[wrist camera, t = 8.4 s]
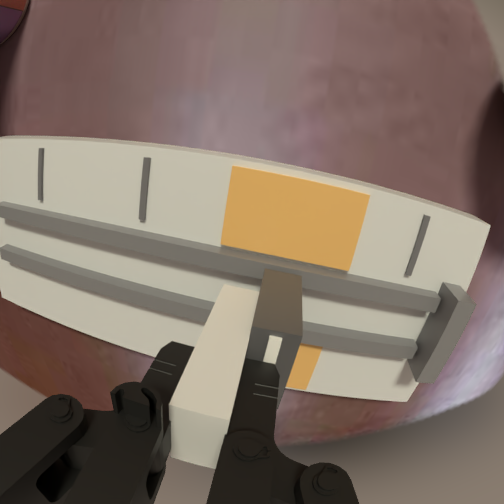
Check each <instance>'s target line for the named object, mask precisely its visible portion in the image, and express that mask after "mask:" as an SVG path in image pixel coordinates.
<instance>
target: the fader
mask: <svg viewBox="0 0 504 504" xmlns="http://www.w3.org/2000/svg"><path fill="white" fill-rule="evenodd" d="M302 337H303V316H302V276H300V275H295V274H290V273H285V272H280V271H276V270H271V269H266V268H265V270H264V275H263V279H262V284H261V288H260V292H259V297H258V301H257V305H256V310H255V314H254V318H253V323H252V327H251V332H250V336H249V342H248V347H247V351H246V356H245V358H248V359H253V360H258V361H263V362H268V363H273V364H275V366H276V368H277V370H278V373H279V375H280V379H279V388H278V398H277V399H278V400H277V409H278V407H279V404H280V401H281V398H282V396H283V393H284V390H285V387H286V384H287V382H288V379H289V376H290V373H291V370H292V367H293V364H294V361H295V358H296V355H297V352H298V349H299V346H300V343H301V340H302Z"/></svg>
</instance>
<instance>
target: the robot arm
mask: <svg viewBox="0 0 504 504" xmlns="http://www.w3.org/2000/svg"><path fill="white" fill-rule="evenodd" d="M258 297H259V291H254V290H249V289H245V288H240V287H235V286H231V285H226V284H224V285H223V287H222V289H221V291H220V293H219V296H218V298H217V300H216V302H215V304H214V306H213V309H212V311H211V313H210V315H209V317H208V319H207V322H206V324H205V326H204V328H203V330H202V332H201V335H200V337H199V339H198V341H197V343H196V346H195V347H193V346H189V345H185V344H182V343H178V342H174V341H171V342H170V343H168V344H167V345H165V346H164V347H162V348H161V349H160V351H159V352H158V354H157V356H156V358H155V360H154V361H153V363H152V364H151V366H150V369H149V370H148V371H147V373H146V375H145V376H144V378H143V380H142V382H141V383H139V382H128V383H123V384H121V385H119V386H116V387H115V388H114V389H113V390H112V391H111V392H110V393H111V399H112V404H113V408H114V410H113V411H98V410H90V409H83V407H82V405H81V403H80V402H79V401H78V400H77V399H75V398H73V397H71V396H70V395H64V394H58V395H52V396H50V397H49V398H47V399H45V400H44V401H42V402H41V403H40V404H39V405H37V406H36V407H35V408H34V409H32V410H31V411H30V412H28V413H27V414H26V415H25V416H23V417H22V418H21V419H20V420H19V421H17V422H16V423H14V424H13V425H12V426H11V427H9V428H8V429H7V430H6V431H4V432H3V433H2V434H1V435H0V504H154V501H155V498H156V495H157V493H158V490H159V488H160V485H161V482H162V480H163V477H164V474H165V469H166V460H167V457H168V455H169V452H170V457H172V458H175V459H178V460H182V461H185V462H189V463H192V464H196V465H200V466H204V467H208V468H213V469H215V473H214V477H213V481H212V485H211V488H210V492H209V496H208V500H207V504H359V502H358V499H357V496H356V493H355V490H354V487H353V484H352V482H351V479H350V477H349V476H348V474H347V472H346V471H344V470H343V469H342V468H340V467H339V466H337V465H334V464H331V463H317V464H313V465H311V466H309V467H308V466H305V465H303V464H301V463H298V462H296V461H293V460H291V459H289V458H288V457H286V456H285V455H284V454H282V453H281V452H280V451H279V449H278V448H277V446H276V444H275V441H274V429H275V419H276V409H277V400H278V399H277V398H278V388H279V379H280V375H279V373H278V370H277V368H276V366H275V364H273V363H268V362H263V361H258V360H253V359H248V358H245V356H246V351H247V347H248V342H249V336H250V332H251V327H252V323H253V318H254V314H255V310H256V305H257V301H258Z"/></svg>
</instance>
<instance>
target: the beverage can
mask: <svg viewBox="0 0 504 504" xmlns="http://www.w3.org/2000/svg"><path fill="white" fill-rule="evenodd" d="M28 4H29V0H0V44H1V43H3V42H5V41H6V40H7V39H8V38H9V37H10V36H11V35H12V34H13V33H14V31H15V30H16V29H17V27H18V26H19V24H20V23H21V21H22V19H23V17H24V15H25V13H26V10H27V7H28Z"/></svg>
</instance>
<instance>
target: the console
mask: <svg viewBox="0 0 504 504" xmlns="http://www.w3.org/2000/svg"><path fill="white" fill-rule="evenodd" d="M490 226H491V225H489V224H488V223H486V222H484V221H482V220H481V219H479V218H477V217H475V216H474V215H471V214H468V213H466V212H463V211H460V210H457V209H454V208H451V207H448V206H445V205H442V204H439V203H436V202H432V201H429V200H426V199H423V198H420V197H416V196H413V195H410V194H406V193H403V192H399V191H396V190H392V189H389V188H385V187H382V186H378V185H374V184H370V183H367V182H363V181H359V180H355V179H351V178H347V177H343V176H339V175H335V174H330V173H326V172H322V171H317V170H313V169H308V168H304V167H299V166H294V165H289V164H284V163H279V162H274V161H269V160H264V159H258V158H253V157H247V156H241V155H236V154H229V153H223V152H217V151H210V150H203V149H196V148H189V147H181V146H174V145H165V144H156V143H147V142H137V141H126V140H115V139H101V138H85V137H64V136H3V137H0V290H1V294H2V297H3V298H5V299H7V300H9V301H11V302H13V303H15V304H17V305H19V306H22V307H24V308H26V309H28V310H30V311H32V312H35V313H37V314H39V315H41V316H44V317H46V318H48V319H51V320H53V321H55V322H58V323H60V324H63V325H65V326H68V327H70V328H73V329H75V330H78V331H80V332H83V333H86V334H88V335H91V336H94V337H96V338H99V339H102V340H105V341H107V342H110V343H113V344H116V345H119V346H122V347H125V348H128V349H131V350H134V351H137V352H140V353H143V354H147V355H150V356H153V357H156V356H157V354H158V352H159V351H160V349H161V348H162V347H164V346H165V345H167V344H168V343H170V342H171V341H174V342H178V343H182V344H185V345H189V346H193V347H195V346H196V343H197V341H198V339H199V337H200V335H201V332H202V330H203V328H204V326H205V324H206V322H207V319H208V317H209V315H210V313H211V311H212V309H213V306H214V304H215V302H216V300H217V298H218V296H219V293H220V291H221V289H222V287H223V285H224V284H226V285H231V286H235V287H240V288H245V289H249V290H254V291H259V292H260V288H261V284H262V279H263V275H264V270H265V268H266V269H271V270H276V271H280V272H285V273H290V274H295V275H300V276H302V316H303V337H302V340H301V343H300V346H299V349H298V352H297V355H296V358H295V361H294V364H293V367H292V370H291V373H290V376H289V379H288V382H287V384H286V387H285V388H288V389H294V390H301V391H307V392H314V393H321V394H328V395H336V396H344V397H353V398H363V399H373V400H386V401H400V402H407V401H408V399H409V398H410V396H411V395H412V393H413V391H414V390H415V388H416V387H417V385H418V383H434V382H435V380H436V379H437V377H438V375H439V374H440V372H441V370H442V369H443V367H444V365H445V364H446V362H447V360H448V358H449V357H450V355H451V353H452V351H453V350H454V348H455V346H456V344H457V342H458V340H459V339H460V337H461V335H462V333H463V331H464V329H465V327H466V325H467V323H468V321H469V319H470V317H471V315H472V313H473V311H474V309H475V306H476V303H475V302H474V301H473V300H472V299H471V297H470V296H469V295H468V294H467V293H466V291H467V289H468V286H469V284H470V282H471V279H472V277H473V274H474V272H475V269H476V267H477V264H478V261H479V259H480V256H481V253H482V250H483V247H484V245H485V242H486V239H487V236H488V233H489V230H490Z"/></svg>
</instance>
